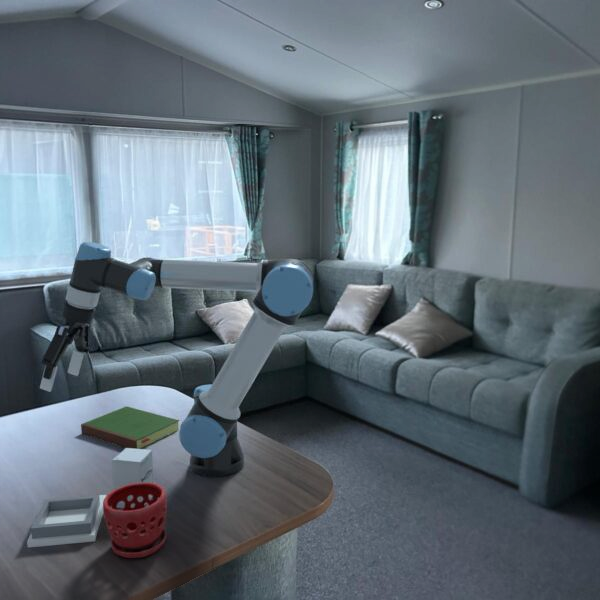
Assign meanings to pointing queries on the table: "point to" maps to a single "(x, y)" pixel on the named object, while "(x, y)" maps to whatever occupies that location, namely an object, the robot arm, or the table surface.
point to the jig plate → (67, 521)
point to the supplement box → (132, 470)
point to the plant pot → (136, 519)
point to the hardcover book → (130, 427)
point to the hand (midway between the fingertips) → (59, 381)
